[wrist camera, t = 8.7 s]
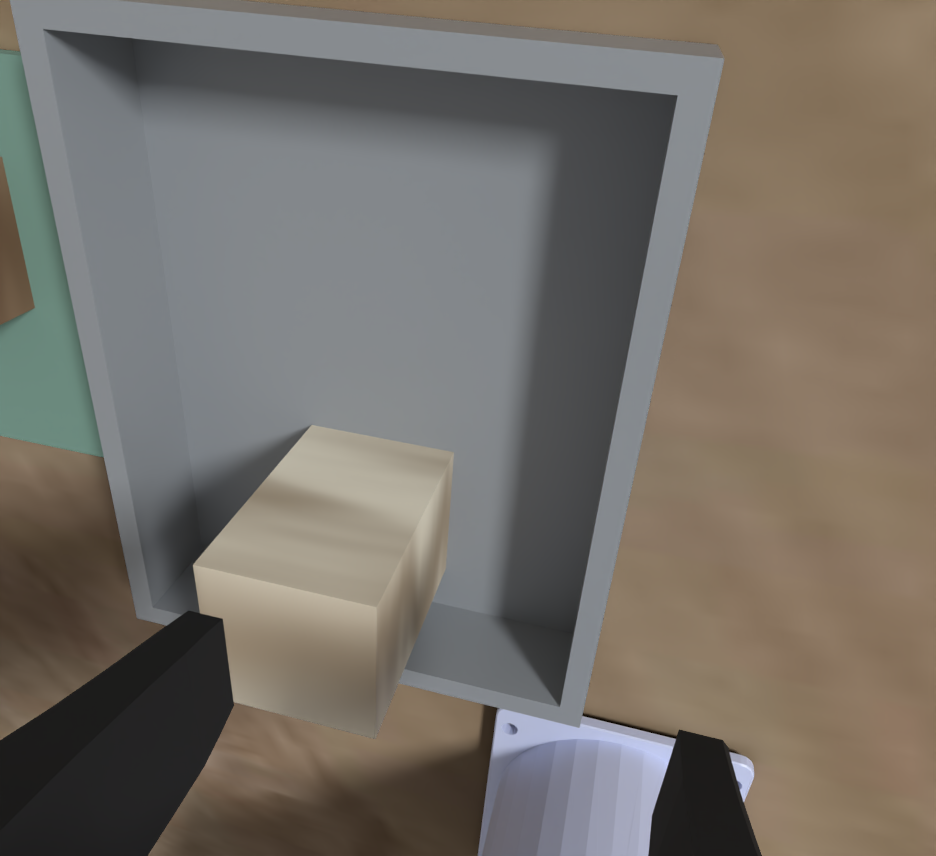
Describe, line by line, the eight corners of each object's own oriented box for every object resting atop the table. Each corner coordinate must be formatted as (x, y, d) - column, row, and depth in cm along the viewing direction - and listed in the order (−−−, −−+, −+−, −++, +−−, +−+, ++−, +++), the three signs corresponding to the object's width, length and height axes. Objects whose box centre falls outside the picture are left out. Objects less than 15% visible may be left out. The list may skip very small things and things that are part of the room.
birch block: (445, 568, 22) (375, 738, 17) (316, 540, 23) (212, 696, 18) (453, 451, 20) (376, 607, 15) (311, 424, 21) (192, 564, 16)
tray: (592, 640, 23) (579, 727, 20) (195, 550, 25) (136, 618, 23) (717, 44, 15) (724, 58, 12) (114, -12, 17) (7, -11, 14)
